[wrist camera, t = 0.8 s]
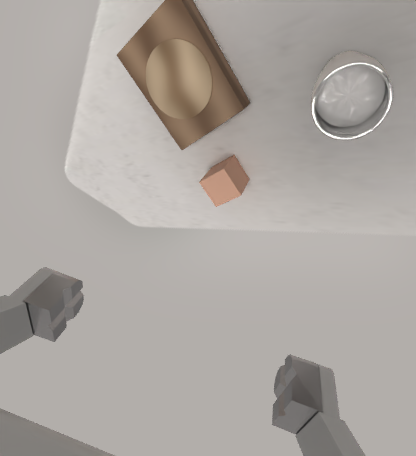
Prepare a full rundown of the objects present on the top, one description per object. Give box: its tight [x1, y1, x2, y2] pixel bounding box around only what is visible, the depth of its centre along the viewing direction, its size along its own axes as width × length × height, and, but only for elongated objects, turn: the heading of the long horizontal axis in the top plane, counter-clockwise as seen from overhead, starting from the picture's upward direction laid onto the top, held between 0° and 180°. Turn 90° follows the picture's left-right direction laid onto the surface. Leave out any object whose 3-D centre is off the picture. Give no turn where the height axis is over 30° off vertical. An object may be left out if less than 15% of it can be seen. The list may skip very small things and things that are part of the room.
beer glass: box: [311, 51, 393, 140], centre depth 31 cm, size 7×7×15 cm
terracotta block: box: [199, 155, 249, 207], centre depth 48 cm, size 5×5×6 cm
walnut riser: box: [117, 0, 250, 150], centre depth 42 cm, size 12×16×4 cm
